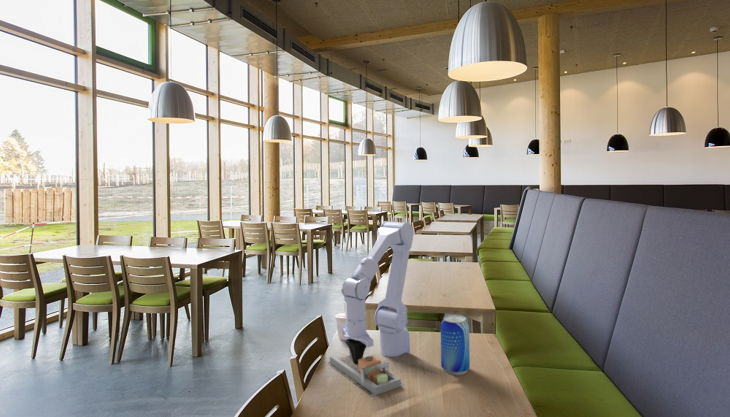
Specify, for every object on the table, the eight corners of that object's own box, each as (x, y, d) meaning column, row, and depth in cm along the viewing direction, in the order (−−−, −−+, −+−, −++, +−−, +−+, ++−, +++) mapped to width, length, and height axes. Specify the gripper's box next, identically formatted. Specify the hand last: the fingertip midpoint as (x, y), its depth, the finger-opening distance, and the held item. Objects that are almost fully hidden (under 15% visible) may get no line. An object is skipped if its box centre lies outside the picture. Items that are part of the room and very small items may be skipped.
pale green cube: (383, 382, 122) (383, 372, 122) (389, 386, 120) (389, 376, 120) (374, 385, 121) (374, 375, 120) (381, 390, 118) (380, 379, 118)
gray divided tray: (354, 357, 142) (354, 348, 142) (404, 388, 121) (404, 377, 121) (324, 366, 136) (324, 356, 136) (371, 401, 115) (371, 389, 115)
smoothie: (351, 345, 153) (350, 306, 152) (333, 344, 154) (332, 305, 153) (355, 338, 159) (354, 301, 158) (338, 337, 160) (337, 300, 159)
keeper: (373, 373, 128) (372, 353, 128) (386, 381, 123) (385, 360, 122) (358, 377, 125) (358, 357, 125) (371, 386, 120) (370, 365, 120)
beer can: (474, 369, 132) (474, 317, 131) (460, 379, 126) (459, 325, 124) (450, 361, 137) (450, 312, 136) (435, 371, 131) (435, 319, 130)
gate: (386, 380, 126) (386, 360, 126) (389, 382, 125) (388, 362, 124) (360, 389, 121) (360, 368, 121) (363, 391, 120) (363, 370, 120)
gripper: (332, 315, 133) (333, 358, 134) (358, 328, 121) (359, 375, 122) (351, 310, 137) (353, 352, 138) (378, 322, 125) (380, 368, 126)
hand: (357, 362), depth 131 cm, fingers closed
